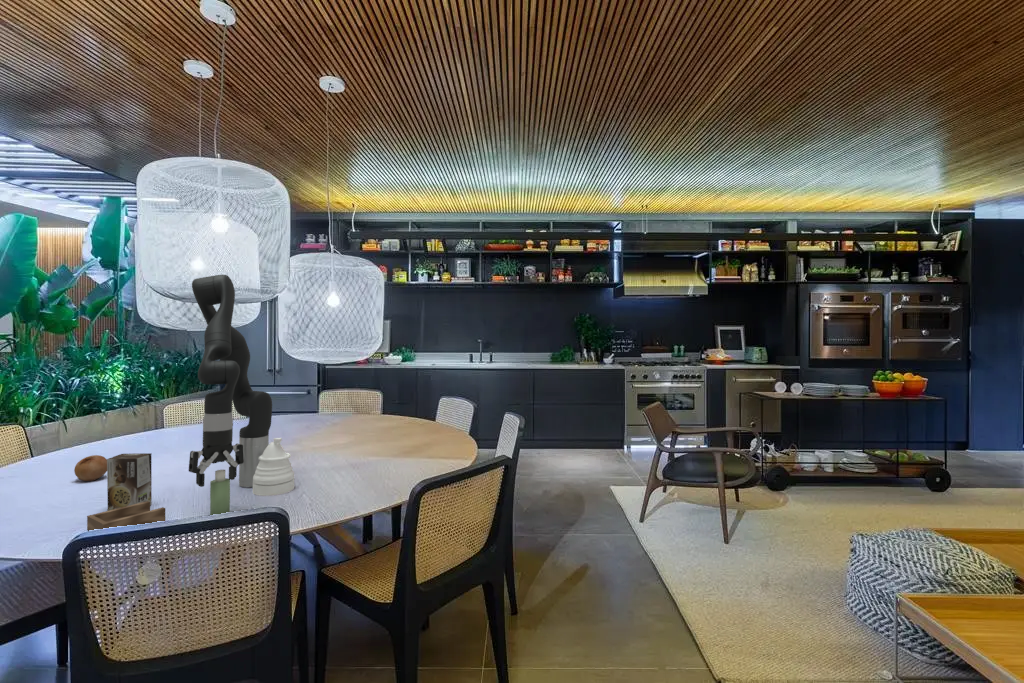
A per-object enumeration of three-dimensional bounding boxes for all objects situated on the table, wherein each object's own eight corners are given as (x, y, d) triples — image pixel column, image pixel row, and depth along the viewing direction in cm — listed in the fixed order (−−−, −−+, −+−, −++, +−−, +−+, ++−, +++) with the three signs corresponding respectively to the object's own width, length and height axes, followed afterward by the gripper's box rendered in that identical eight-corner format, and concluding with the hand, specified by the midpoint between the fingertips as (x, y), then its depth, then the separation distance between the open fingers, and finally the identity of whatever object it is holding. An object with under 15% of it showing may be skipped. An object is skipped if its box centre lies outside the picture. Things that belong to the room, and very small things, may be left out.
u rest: (147, 514, 141) (147, 500, 141) (165, 522, 135) (165, 508, 135) (87, 530, 129) (87, 515, 129) (103, 539, 123) (103, 524, 123)
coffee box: (152, 504, 149) (153, 452, 149) (137, 511, 143) (137, 458, 143) (122, 504, 149) (123, 452, 149) (106, 511, 143) (106, 458, 143)
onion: (88, 491, 170) (81, 469, 166) (72, 481, 173) (64, 459, 169) (117, 475, 178) (111, 454, 174) (101, 465, 181) (94, 444, 177)
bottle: (224, 510, 145) (224, 467, 145) (233, 513, 143) (233, 470, 143) (206, 515, 141) (206, 471, 141) (215, 518, 138) (215, 474, 138)
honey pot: (302, 488, 167) (302, 436, 167) (267, 498, 156) (267, 443, 156) (279, 482, 174) (280, 432, 173) (244, 491, 163) (245, 439, 162)
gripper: (235, 423, 150) (234, 475, 149) (185, 429, 138) (183, 486, 137) (249, 426, 145) (247, 479, 145) (197, 432, 133) (196, 491, 133)
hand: (216, 482), depth 141 cm, fingers open, 8 cm apart
